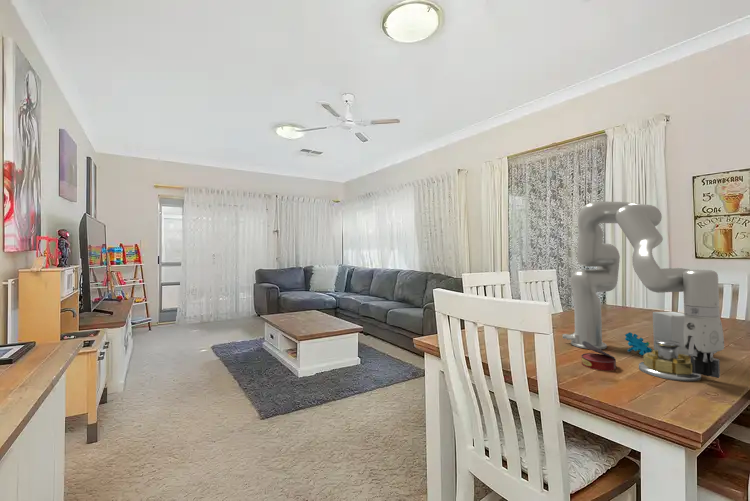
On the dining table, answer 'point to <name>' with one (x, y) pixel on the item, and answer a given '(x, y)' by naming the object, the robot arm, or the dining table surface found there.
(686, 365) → the ring nut
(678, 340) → the supplement box
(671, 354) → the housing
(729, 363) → the dining table surface
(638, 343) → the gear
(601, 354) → the canned food
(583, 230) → the robot arm
